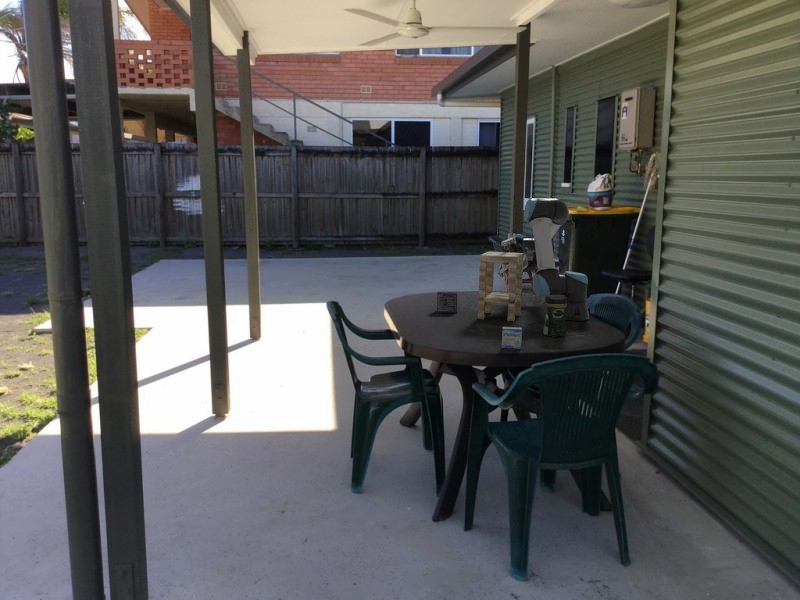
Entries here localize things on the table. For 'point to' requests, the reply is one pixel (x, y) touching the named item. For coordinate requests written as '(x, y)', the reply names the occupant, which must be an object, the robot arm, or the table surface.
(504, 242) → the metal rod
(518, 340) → the medicine box
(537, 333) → the table surface
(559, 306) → the coffee jar
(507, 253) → the shelf stand
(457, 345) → the table surface
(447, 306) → the small box
